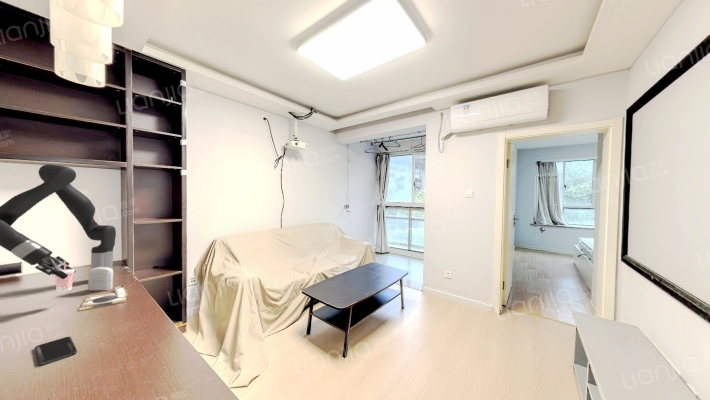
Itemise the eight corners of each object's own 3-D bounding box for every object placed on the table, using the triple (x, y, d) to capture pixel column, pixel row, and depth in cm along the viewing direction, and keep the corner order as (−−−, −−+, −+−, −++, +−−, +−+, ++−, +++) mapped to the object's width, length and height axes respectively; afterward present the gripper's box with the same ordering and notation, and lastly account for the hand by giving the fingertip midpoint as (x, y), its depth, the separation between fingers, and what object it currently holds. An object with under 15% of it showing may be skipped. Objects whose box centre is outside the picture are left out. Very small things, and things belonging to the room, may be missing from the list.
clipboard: (87, 297, 121) (87, 295, 121) (127, 291, 131) (127, 288, 131) (78, 311, 108) (78, 308, 108) (124, 302, 117) (125, 300, 117)
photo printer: (114, 288, 135) (115, 266, 135) (107, 290, 131) (108, 268, 131) (93, 288, 133) (94, 266, 133) (86, 291, 129) (86, 268, 129)
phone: (38, 364, 73) (34, 346, 81) (38, 368, 73) (34, 349, 81) (77, 351, 80) (70, 335, 88) (77, 354, 80) (70, 338, 88)
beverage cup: (59, 293, 109) (60, 262, 109) (50, 291, 110) (50, 261, 110) (77, 288, 115) (78, 259, 115) (68, 286, 116) (69, 258, 116)
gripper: (30, 249, 102) (70, 273, 109) (50, 243, 115) (85, 265, 121) (10, 262, 100) (52, 286, 106) (33, 255, 112) (69, 276, 118)
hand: (69, 275), depth 113 cm, fingers closed on beverage cup, 6 cm apart
